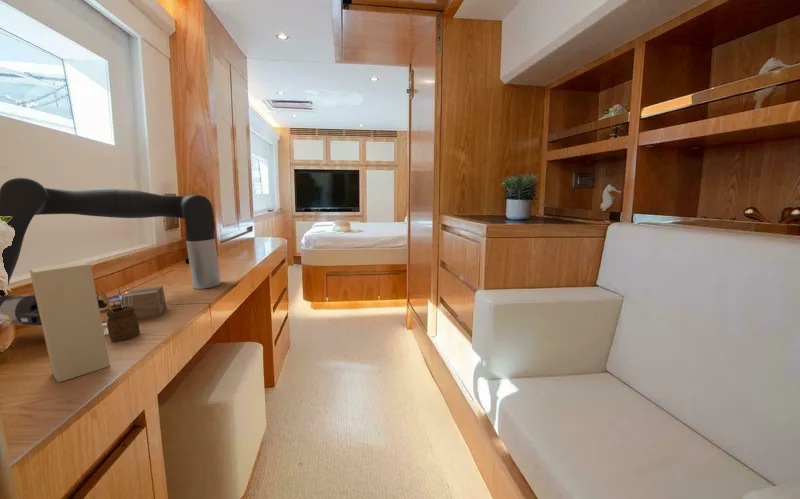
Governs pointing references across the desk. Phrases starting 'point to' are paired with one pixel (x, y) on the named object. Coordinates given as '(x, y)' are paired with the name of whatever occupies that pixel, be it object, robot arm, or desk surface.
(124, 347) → the desk surface
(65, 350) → the toy refrigerator
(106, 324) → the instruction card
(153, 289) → the walnut base block
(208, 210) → the robot arm
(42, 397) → the desk surface
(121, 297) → the toy airplane
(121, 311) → the utensil holder
